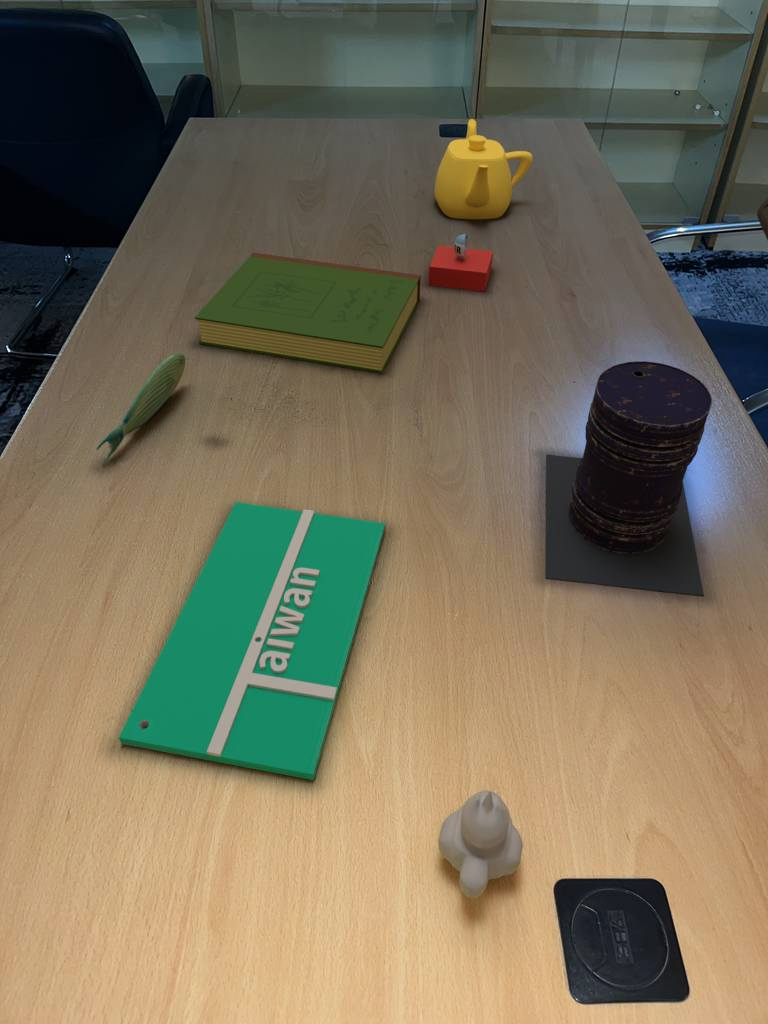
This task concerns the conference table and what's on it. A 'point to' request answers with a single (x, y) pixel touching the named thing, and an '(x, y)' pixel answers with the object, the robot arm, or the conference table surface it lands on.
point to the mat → (590, 564)
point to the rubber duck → (480, 841)
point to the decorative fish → (148, 399)
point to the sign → (261, 642)
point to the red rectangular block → (460, 266)
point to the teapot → (477, 177)
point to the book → (311, 311)
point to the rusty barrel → (637, 454)
